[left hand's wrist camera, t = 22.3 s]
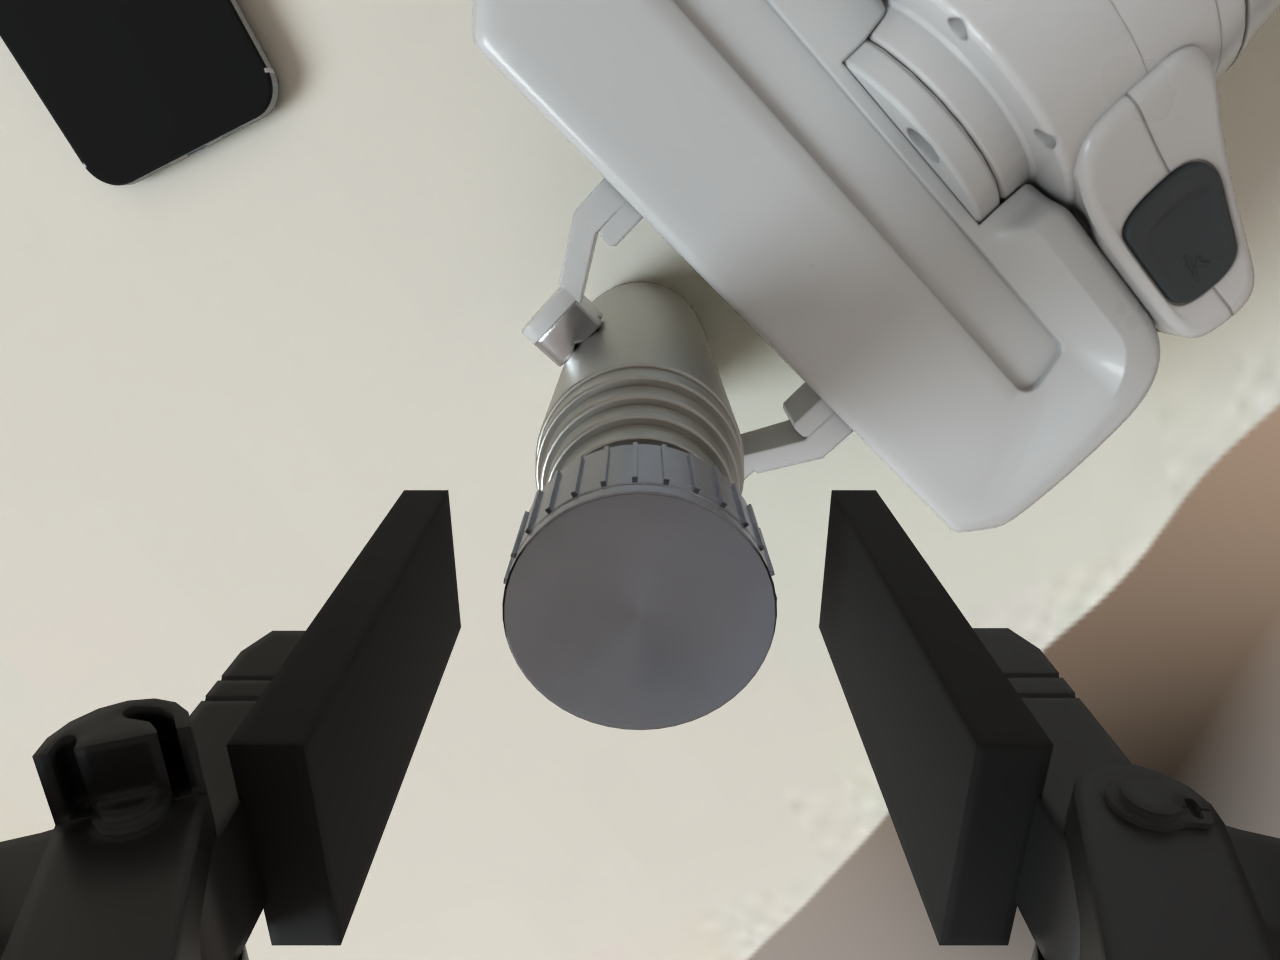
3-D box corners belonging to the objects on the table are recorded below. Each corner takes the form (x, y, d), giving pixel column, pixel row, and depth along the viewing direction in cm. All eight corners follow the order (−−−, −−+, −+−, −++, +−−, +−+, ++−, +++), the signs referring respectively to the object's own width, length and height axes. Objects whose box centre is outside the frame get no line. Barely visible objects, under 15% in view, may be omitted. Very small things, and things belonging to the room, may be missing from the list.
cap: (748, 422, 14) (767, 468, 12) (771, 642, 15) (791, 716, 13) (495, 458, 14) (470, 510, 12) (543, 670, 16) (529, 747, 14)
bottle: (549, 324, 30) (431, 548, 13) (664, 256, 29) (699, 401, 12) (617, 432, 32) (590, 761, 15) (728, 371, 31) (838, 644, 14)
